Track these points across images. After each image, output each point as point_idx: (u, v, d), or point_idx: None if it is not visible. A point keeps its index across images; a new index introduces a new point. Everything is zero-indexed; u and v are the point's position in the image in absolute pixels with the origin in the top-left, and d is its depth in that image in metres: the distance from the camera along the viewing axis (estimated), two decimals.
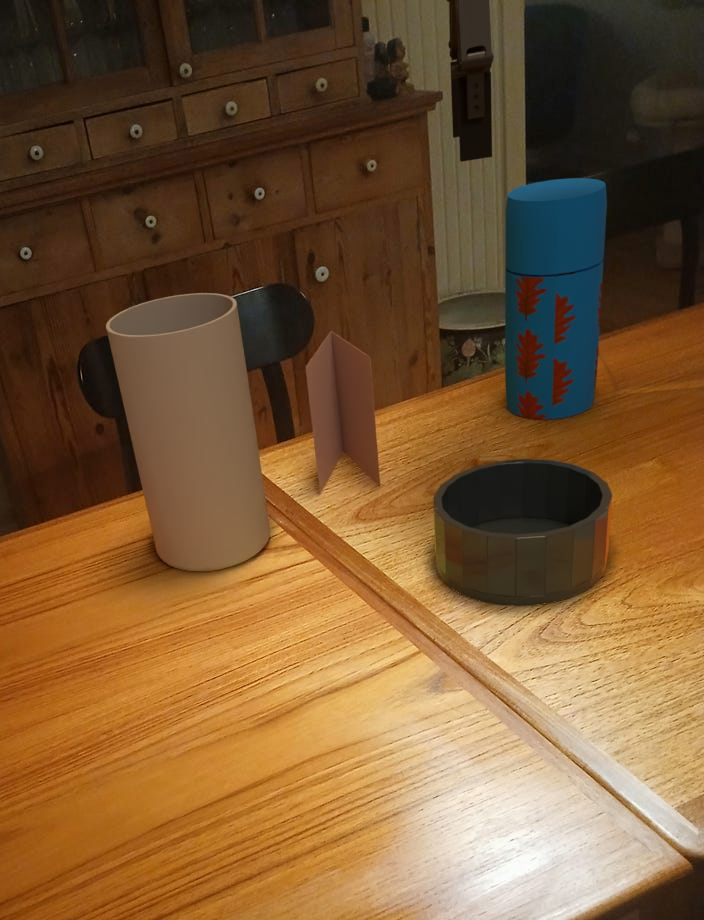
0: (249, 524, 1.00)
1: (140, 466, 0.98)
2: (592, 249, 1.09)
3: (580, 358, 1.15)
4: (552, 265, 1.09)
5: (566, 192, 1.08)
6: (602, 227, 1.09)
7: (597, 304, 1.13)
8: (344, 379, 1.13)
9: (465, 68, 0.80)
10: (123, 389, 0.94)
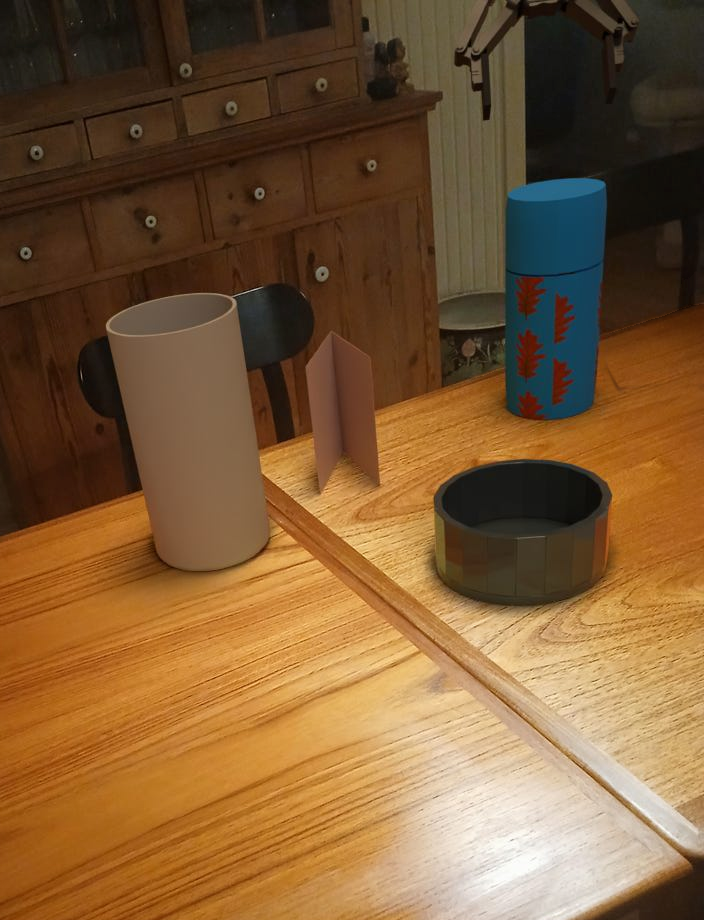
0: (249, 524, 1.00)
1: (140, 466, 0.98)
2: (592, 249, 1.09)
3: (580, 358, 1.15)
4: (552, 265, 1.09)
5: (566, 192, 1.08)
6: (602, 227, 1.09)
7: (597, 304, 1.13)
8: (344, 379, 1.13)
9: (456, 64, 1.16)
10: (123, 389, 0.94)
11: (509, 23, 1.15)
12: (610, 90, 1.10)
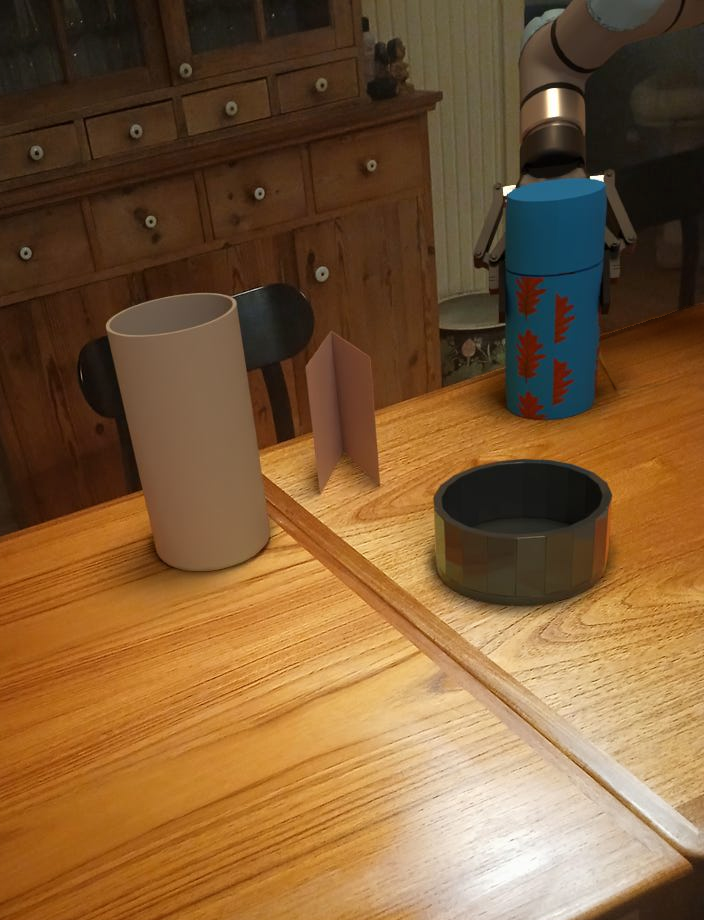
0: (249, 524, 1.00)
1: (140, 466, 0.98)
2: (592, 249, 1.09)
3: (580, 358, 1.15)
4: (552, 265, 1.09)
5: (566, 192, 1.08)
6: (602, 227, 1.09)
7: (597, 304, 1.13)
8: (344, 379, 1.13)
9: (475, 266, 1.19)
10: (123, 389, 0.94)
11: None
12: (604, 304, 1.12)
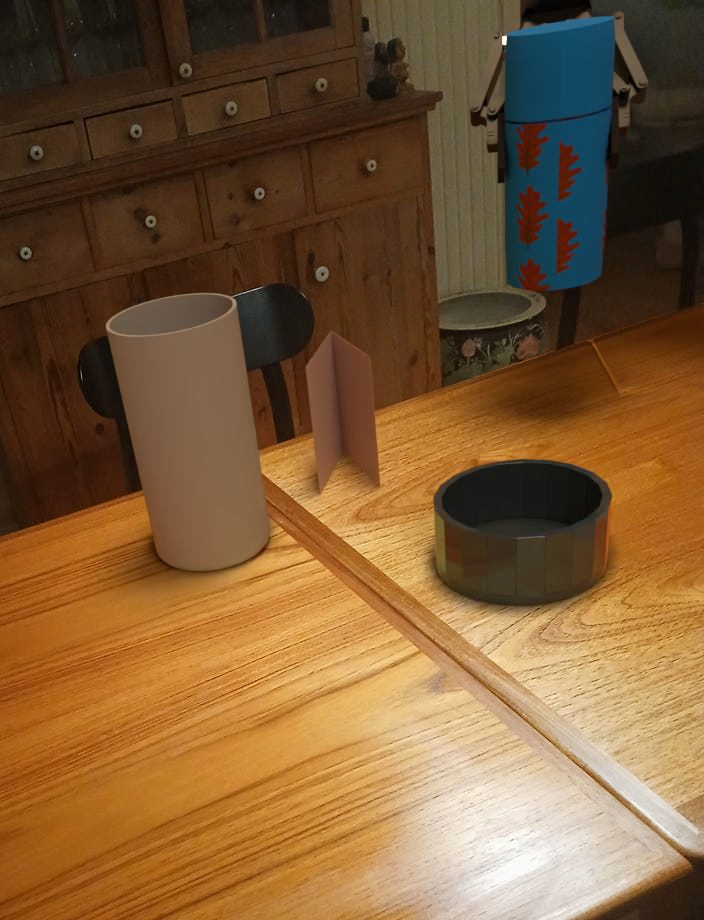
0: (249, 524, 1.00)
1: (140, 466, 0.98)
2: (599, 90, 0.99)
3: (586, 218, 1.06)
4: (555, 108, 1.00)
5: (571, 26, 0.98)
6: (610, 66, 0.99)
7: (605, 157, 1.04)
8: (344, 379, 1.13)
9: (472, 123, 1.10)
10: (123, 389, 0.94)
11: None
12: (612, 155, 1.03)
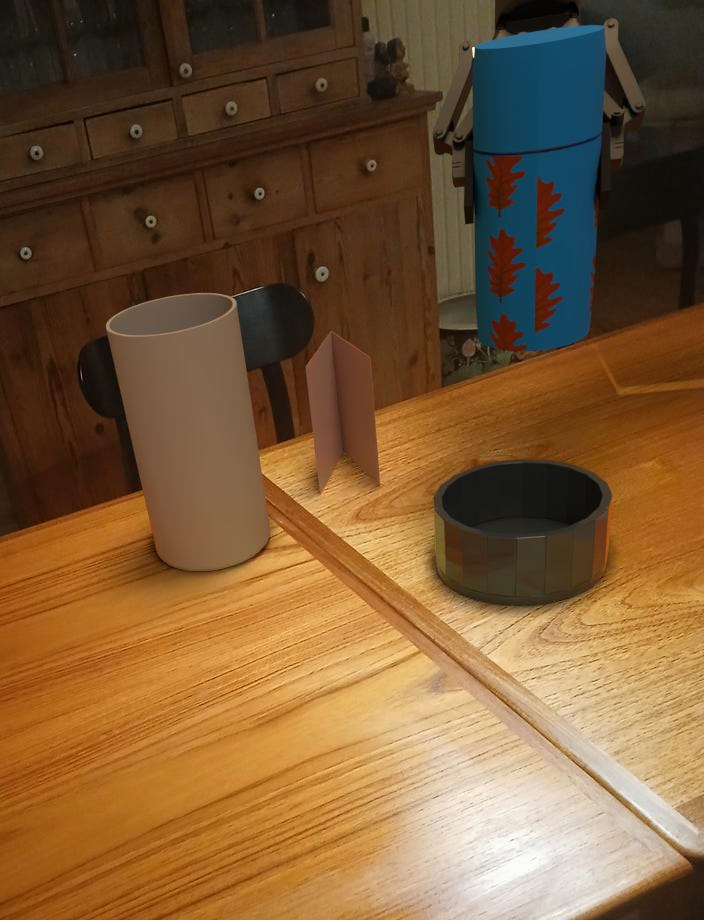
0: (249, 524, 1.00)
1: (140, 466, 0.98)
2: (586, 116, 0.82)
3: (571, 268, 0.88)
4: (532, 137, 0.82)
5: (551, 37, 0.80)
6: (600, 86, 0.81)
7: (593, 195, 0.86)
8: (344, 379, 1.13)
9: (436, 151, 0.92)
10: (123, 389, 0.94)
11: None
12: (602, 194, 0.85)
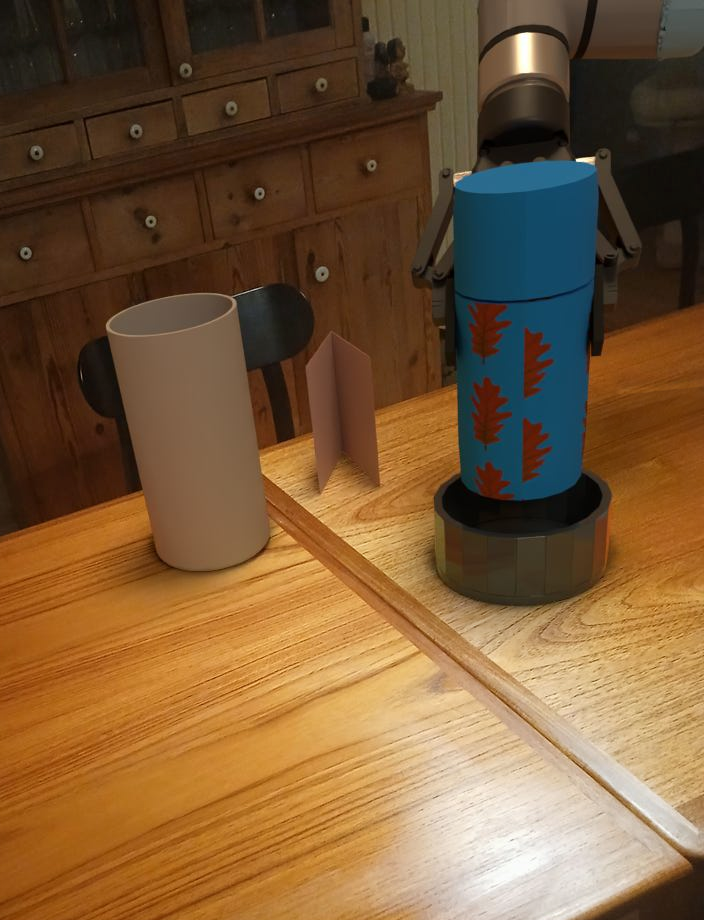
0: (249, 524, 1.00)
1: (140, 466, 0.98)
2: (577, 264, 0.75)
3: (561, 418, 0.81)
4: (519, 287, 0.75)
5: (539, 180, 0.73)
6: (592, 232, 0.75)
7: (585, 342, 0.79)
8: (344, 379, 1.13)
9: (415, 285, 0.85)
10: (123, 389, 0.94)
11: None
12: (595, 343, 0.78)
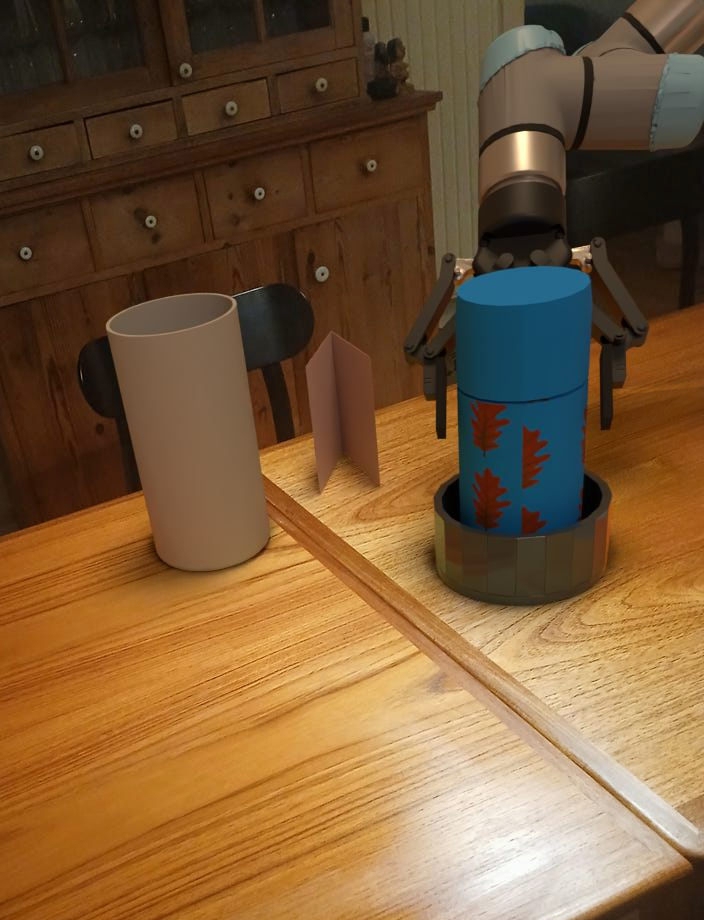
0: (249, 524, 1.00)
1: (140, 466, 0.98)
2: (572, 368, 0.79)
3: (558, 506, 0.85)
4: (517, 389, 0.79)
5: (536, 291, 0.78)
6: (586, 338, 0.79)
7: (580, 436, 0.84)
8: (344, 379, 1.13)
9: (407, 361, 0.89)
10: (123, 389, 0.94)
11: None
12: (604, 419, 0.82)
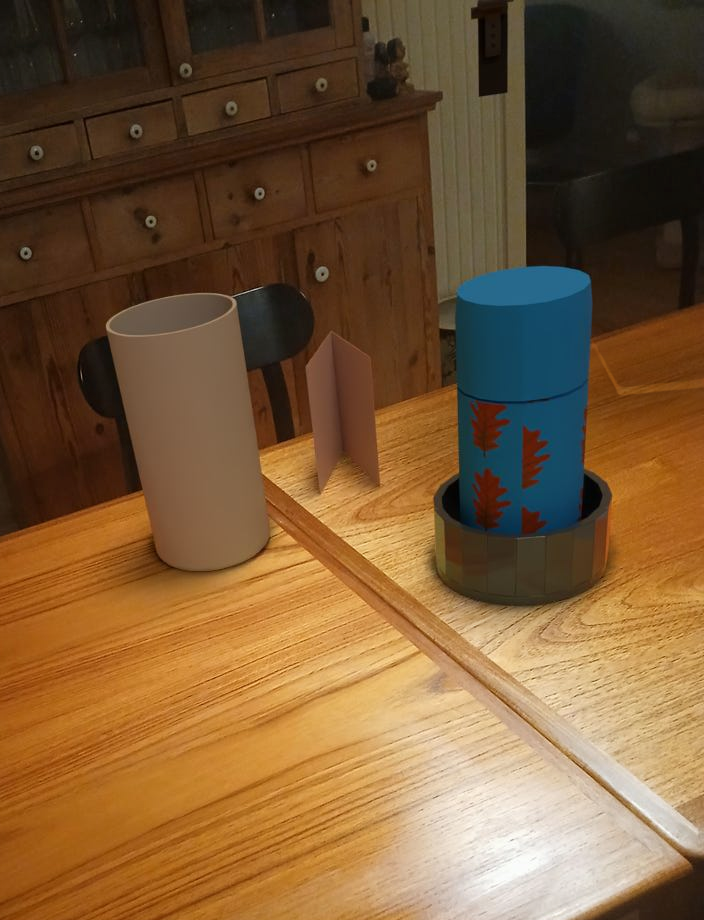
0: (249, 524, 1.00)
1: (140, 466, 0.98)
2: (572, 368, 0.79)
3: (558, 506, 0.85)
4: (517, 389, 0.79)
5: (536, 291, 0.78)
6: (586, 338, 0.79)
7: (580, 436, 0.84)
8: (344, 379, 1.13)
9: (482, 9, 0.89)
10: (123, 389, 0.94)
11: None
12: None
